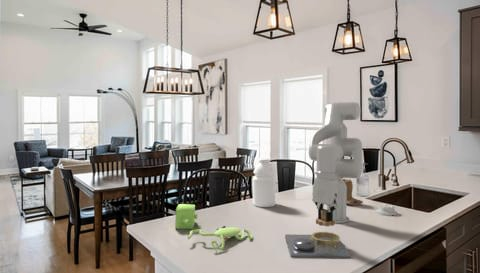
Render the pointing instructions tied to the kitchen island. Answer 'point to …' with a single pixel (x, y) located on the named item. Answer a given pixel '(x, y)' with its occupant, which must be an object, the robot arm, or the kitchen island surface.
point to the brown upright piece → (350, 193)
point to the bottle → (264, 184)
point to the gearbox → (185, 216)
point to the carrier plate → (316, 245)
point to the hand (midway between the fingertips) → (325, 219)
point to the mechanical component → (387, 210)
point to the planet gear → (324, 219)
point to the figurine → (223, 235)
